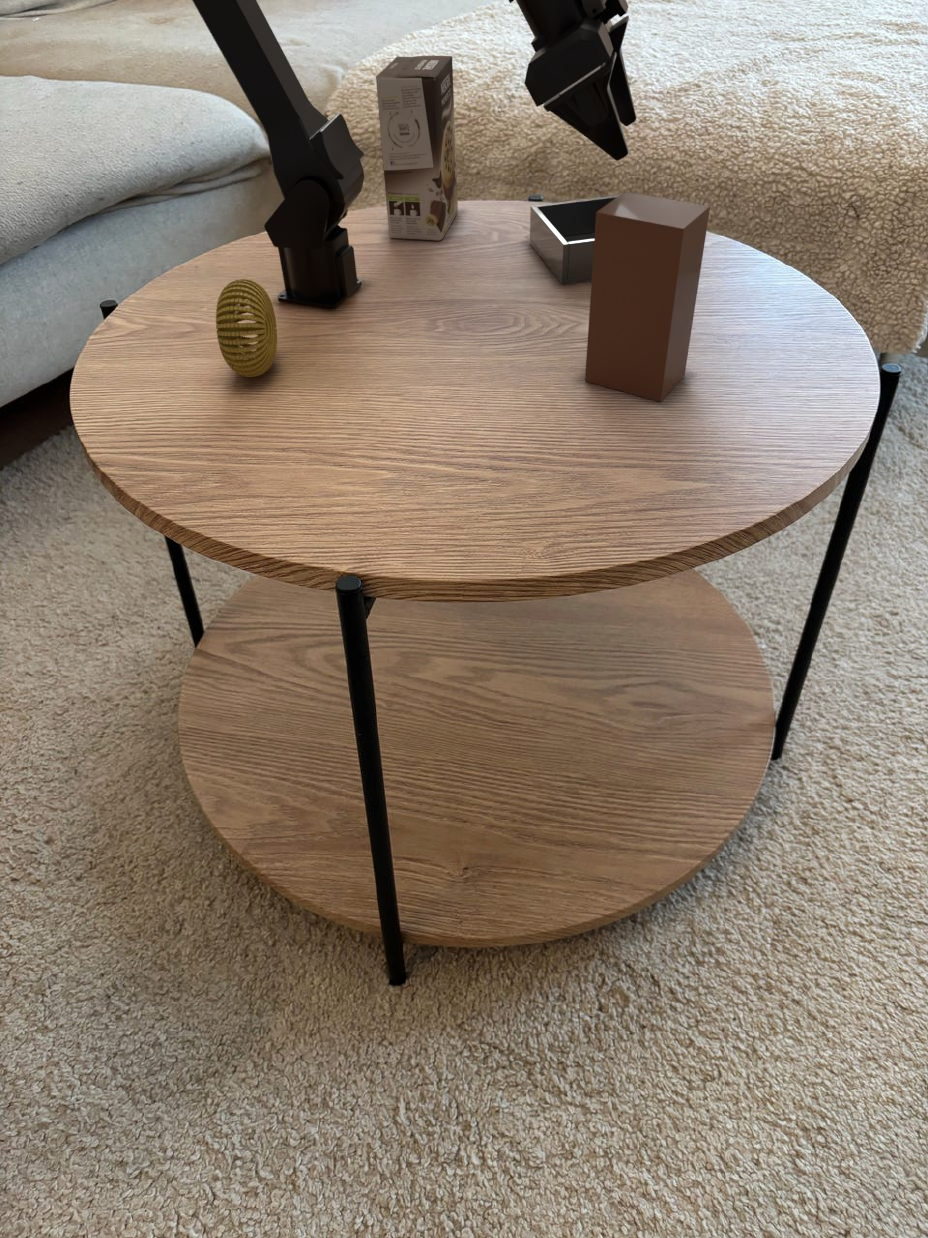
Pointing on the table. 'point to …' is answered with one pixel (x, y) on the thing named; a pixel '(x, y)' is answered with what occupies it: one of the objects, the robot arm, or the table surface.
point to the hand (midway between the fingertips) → (627, 139)
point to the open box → (567, 236)
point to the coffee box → (418, 145)
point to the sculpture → (246, 328)
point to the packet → (644, 292)
